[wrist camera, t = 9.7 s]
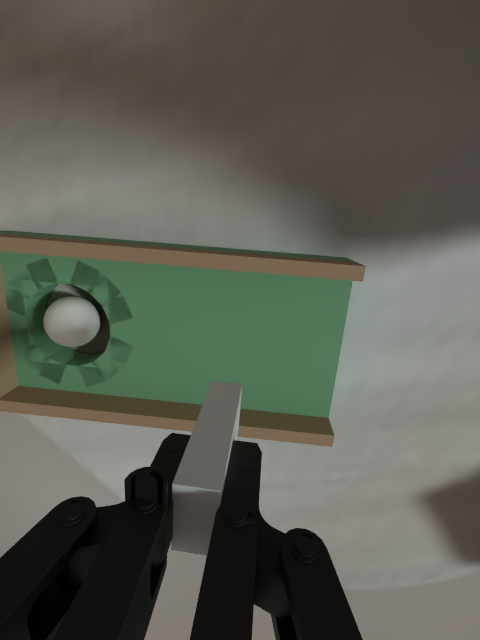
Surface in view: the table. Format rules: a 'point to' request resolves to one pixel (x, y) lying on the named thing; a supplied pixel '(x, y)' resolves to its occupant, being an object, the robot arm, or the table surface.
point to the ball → (71, 321)
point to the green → (176, 333)
